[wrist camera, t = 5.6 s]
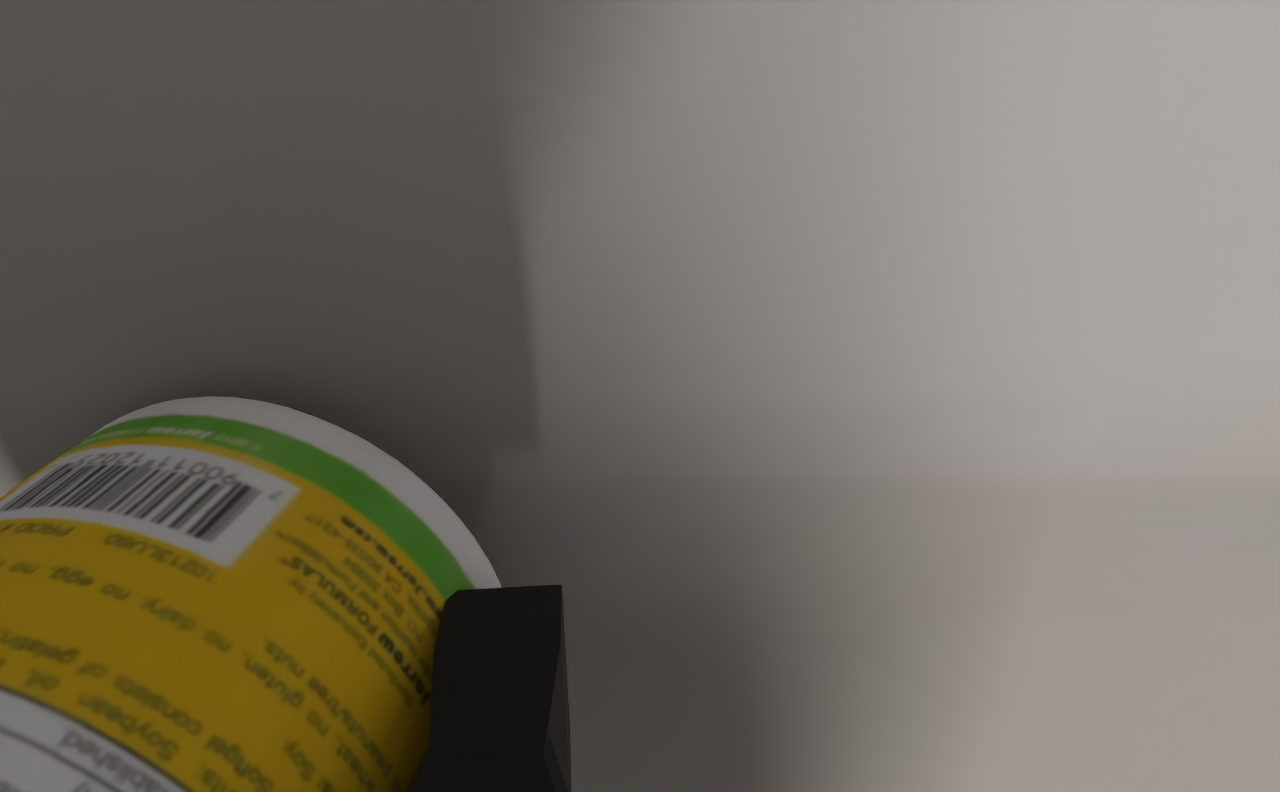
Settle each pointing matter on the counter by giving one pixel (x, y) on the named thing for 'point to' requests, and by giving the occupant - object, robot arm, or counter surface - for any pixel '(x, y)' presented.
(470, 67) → the counter surface
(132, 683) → the supplement bottle
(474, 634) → the robot arm
